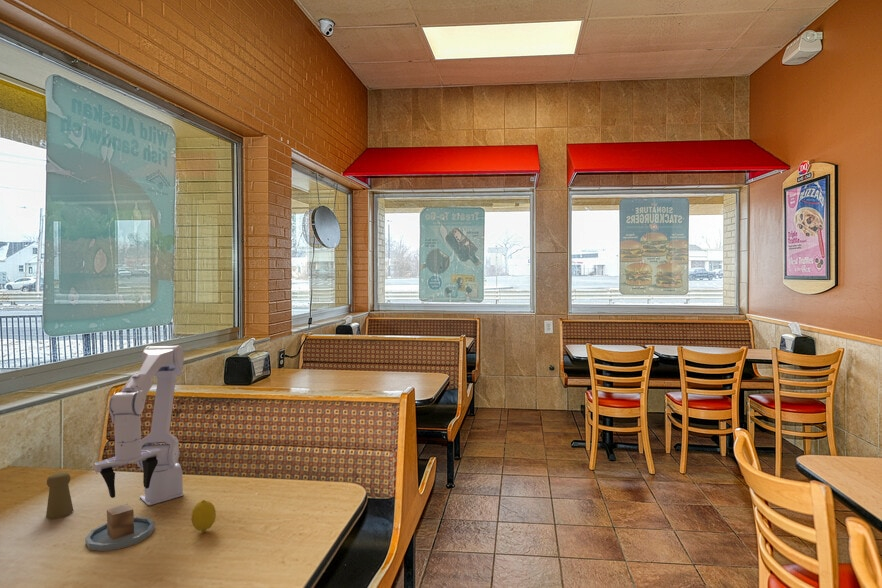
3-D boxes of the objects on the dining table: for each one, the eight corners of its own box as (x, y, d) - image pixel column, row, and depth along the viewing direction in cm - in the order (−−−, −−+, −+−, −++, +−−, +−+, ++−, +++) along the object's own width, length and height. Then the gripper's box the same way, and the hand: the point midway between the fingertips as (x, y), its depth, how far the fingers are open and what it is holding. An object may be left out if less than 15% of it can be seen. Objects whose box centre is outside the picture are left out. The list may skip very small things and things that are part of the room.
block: (128, 526, 131) (127, 503, 131) (134, 532, 128) (133, 509, 128) (107, 533, 128) (106, 509, 127) (112, 539, 124) (112, 515, 124)
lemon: (220, 528, 131) (220, 497, 131) (204, 538, 126) (203, 506, 126) (203, 525, 133) (202, 494, 133) (186, 535, 128) (185, 503, 127)
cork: (58, 519, 136) (57, 478, 136) (39, 517, 138) (38, 477, 137) (79, 509, 142) (77, 470, 142) (60, 507, 144) (59, 468, 143)
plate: (143, 517, 138) (143, 511, 138) (161, 535, 128) (161, 529, 128) (80, 536, 128) (80, 530, 127) (94, 557, 118) (94, 551, 118)
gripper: (98, 450, 123) (100, 505, 124) (164, 435, 133) (165, 487, 134) (91, 443, 128) (93, 497, 128) (155, 430, 138) (156, 480, 139)
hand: (129, 491), depth 132 cm, fingers open, 7 cm apart
